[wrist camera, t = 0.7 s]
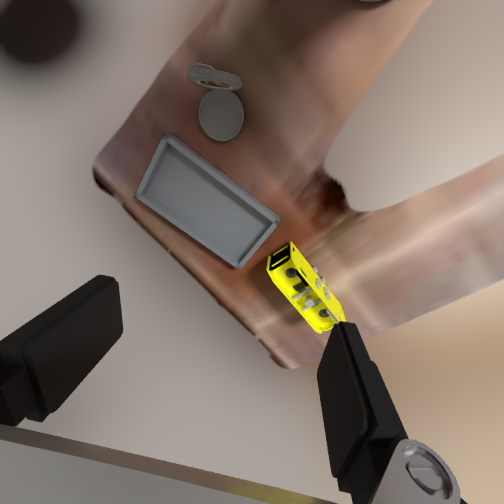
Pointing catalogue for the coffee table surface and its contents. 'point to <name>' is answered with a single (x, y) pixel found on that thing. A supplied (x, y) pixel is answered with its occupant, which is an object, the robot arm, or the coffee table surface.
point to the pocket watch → (218, 102)
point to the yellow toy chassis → (304, 288)
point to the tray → (205, 202)
